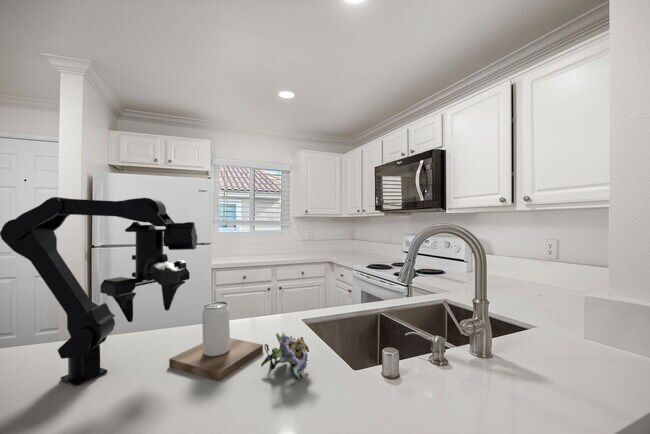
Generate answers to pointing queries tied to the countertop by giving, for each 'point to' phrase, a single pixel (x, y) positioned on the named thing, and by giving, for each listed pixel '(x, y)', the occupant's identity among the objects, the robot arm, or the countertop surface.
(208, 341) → the can
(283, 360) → the passion flower
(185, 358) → the cutting board
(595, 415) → the countertop surface
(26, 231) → the robot arm
